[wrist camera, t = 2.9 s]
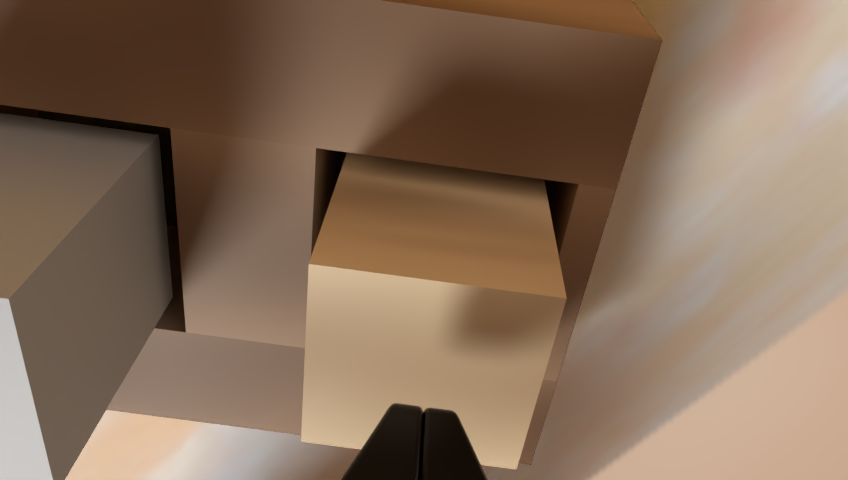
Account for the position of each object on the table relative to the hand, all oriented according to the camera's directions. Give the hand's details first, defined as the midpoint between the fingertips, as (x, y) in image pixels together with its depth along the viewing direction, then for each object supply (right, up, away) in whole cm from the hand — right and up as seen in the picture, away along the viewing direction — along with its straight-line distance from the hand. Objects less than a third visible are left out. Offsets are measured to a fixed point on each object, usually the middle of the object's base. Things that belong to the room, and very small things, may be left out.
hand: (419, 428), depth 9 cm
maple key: (0, +3, +5) cm, 6 cm away
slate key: (-6, +3, +3) cm, 8 cm away
